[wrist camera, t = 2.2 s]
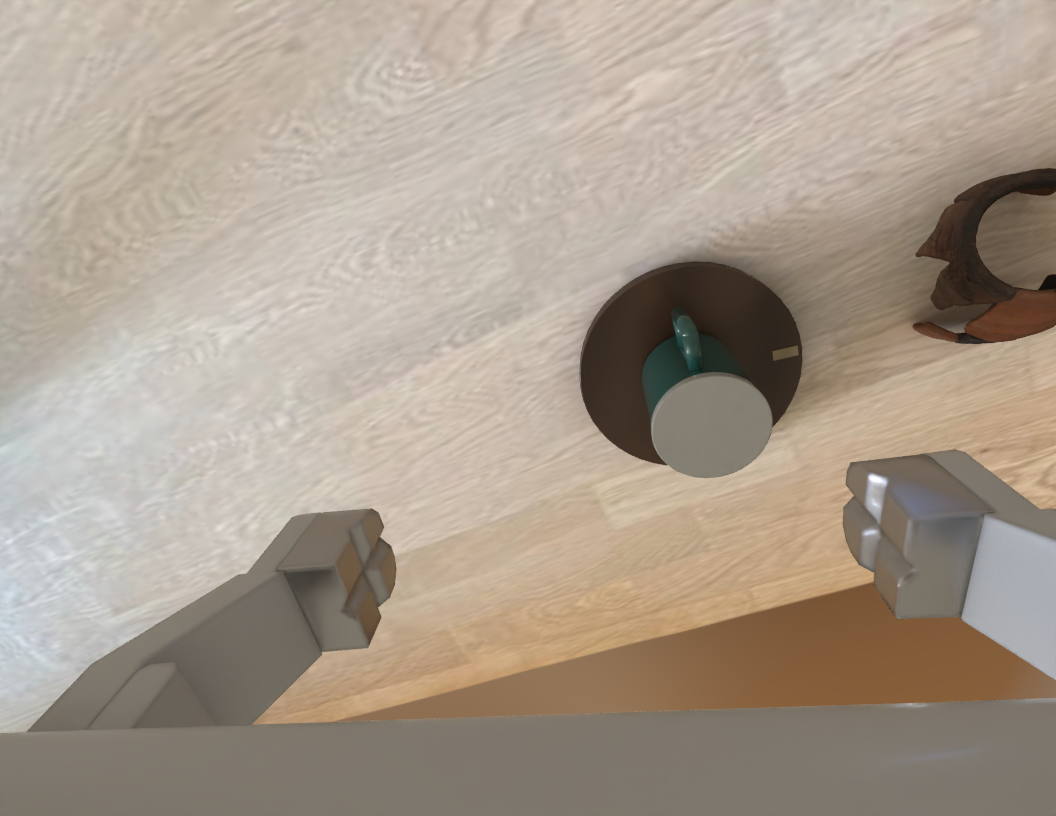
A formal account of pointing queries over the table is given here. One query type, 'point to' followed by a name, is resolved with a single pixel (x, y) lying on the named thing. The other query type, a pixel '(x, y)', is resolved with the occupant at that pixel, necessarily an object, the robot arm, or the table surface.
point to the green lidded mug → (702, 404)
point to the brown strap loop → (971, 278)
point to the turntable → (645, 322)
